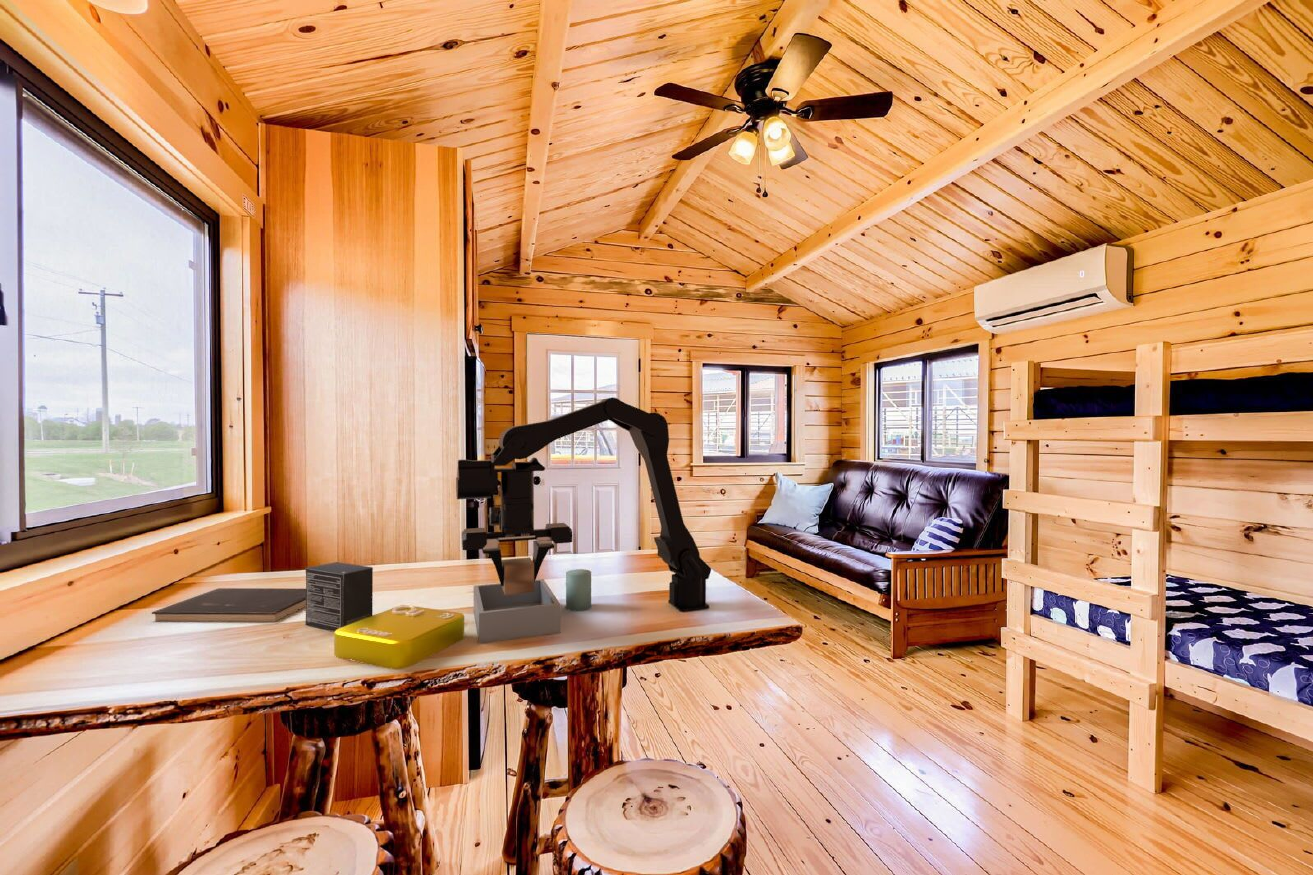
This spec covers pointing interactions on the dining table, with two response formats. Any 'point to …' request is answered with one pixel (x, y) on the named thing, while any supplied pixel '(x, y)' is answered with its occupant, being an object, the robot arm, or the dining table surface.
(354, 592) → the small box
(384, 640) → the element tile
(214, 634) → the dining table surface
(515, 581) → the walnut cube
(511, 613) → the tote
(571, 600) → the teal cylinder
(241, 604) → the hardcover book
